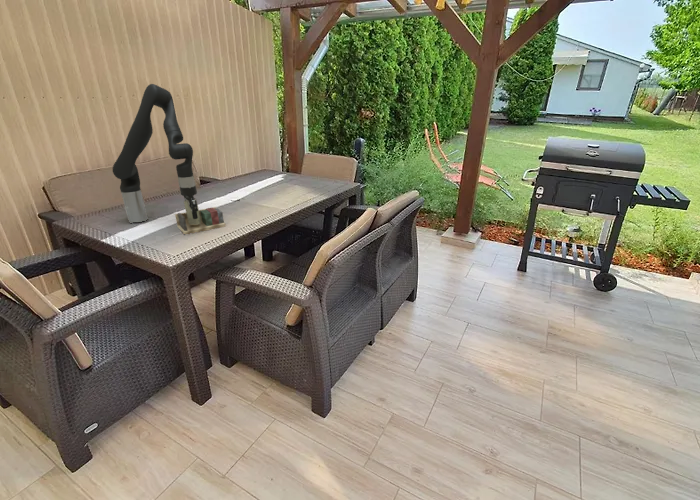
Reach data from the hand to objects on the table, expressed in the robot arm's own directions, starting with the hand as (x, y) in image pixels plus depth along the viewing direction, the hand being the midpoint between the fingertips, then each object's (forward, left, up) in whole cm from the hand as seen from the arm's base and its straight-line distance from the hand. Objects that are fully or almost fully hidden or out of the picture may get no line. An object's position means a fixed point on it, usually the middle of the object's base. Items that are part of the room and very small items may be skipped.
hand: (193, 216), depth 180 cm
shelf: (+3, +1, -7) cm, 7 cm away
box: (0, 0, -4) cm, 4 cm away
